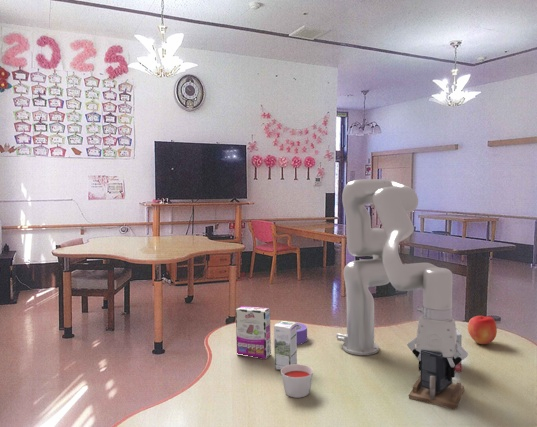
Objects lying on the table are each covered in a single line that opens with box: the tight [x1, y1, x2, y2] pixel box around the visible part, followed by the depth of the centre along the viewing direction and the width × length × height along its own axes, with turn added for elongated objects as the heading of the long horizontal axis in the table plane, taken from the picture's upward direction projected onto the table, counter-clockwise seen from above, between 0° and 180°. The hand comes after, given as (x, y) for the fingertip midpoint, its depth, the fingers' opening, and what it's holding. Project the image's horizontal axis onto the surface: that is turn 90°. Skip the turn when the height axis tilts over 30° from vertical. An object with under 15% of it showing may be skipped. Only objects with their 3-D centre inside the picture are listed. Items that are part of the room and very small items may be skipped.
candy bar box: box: [235, 305, 272, 360], centre depth 154 cm, size 11×5×16 cm, turn 68°
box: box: [420, 350, 453, 393], centre depth 124 cm, size 8×6×11 cm
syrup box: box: [273, 320, 298, 371], centre depth 142 cm, size 6×6×14 cm
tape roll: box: [295, 322, 308, 345], centre depth 169 cm, size 12×12×5 cm
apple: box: [467, 315, 498, 345], centre depth 162 cm, size 10×10×10 cm
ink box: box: [454, 327, 463, 373], centre depth 142 cm, size 9×5×12 cm, turn 168°
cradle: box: [408, 374, 465, 410], centre depth 124 cm, size 12×13×7 cm
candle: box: [280, 363, 314, 399], centre depth 126 cm, size 9×9×6 cm
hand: (436, 375), depth 124 cm, fingers closed on box, 6 cm apart
